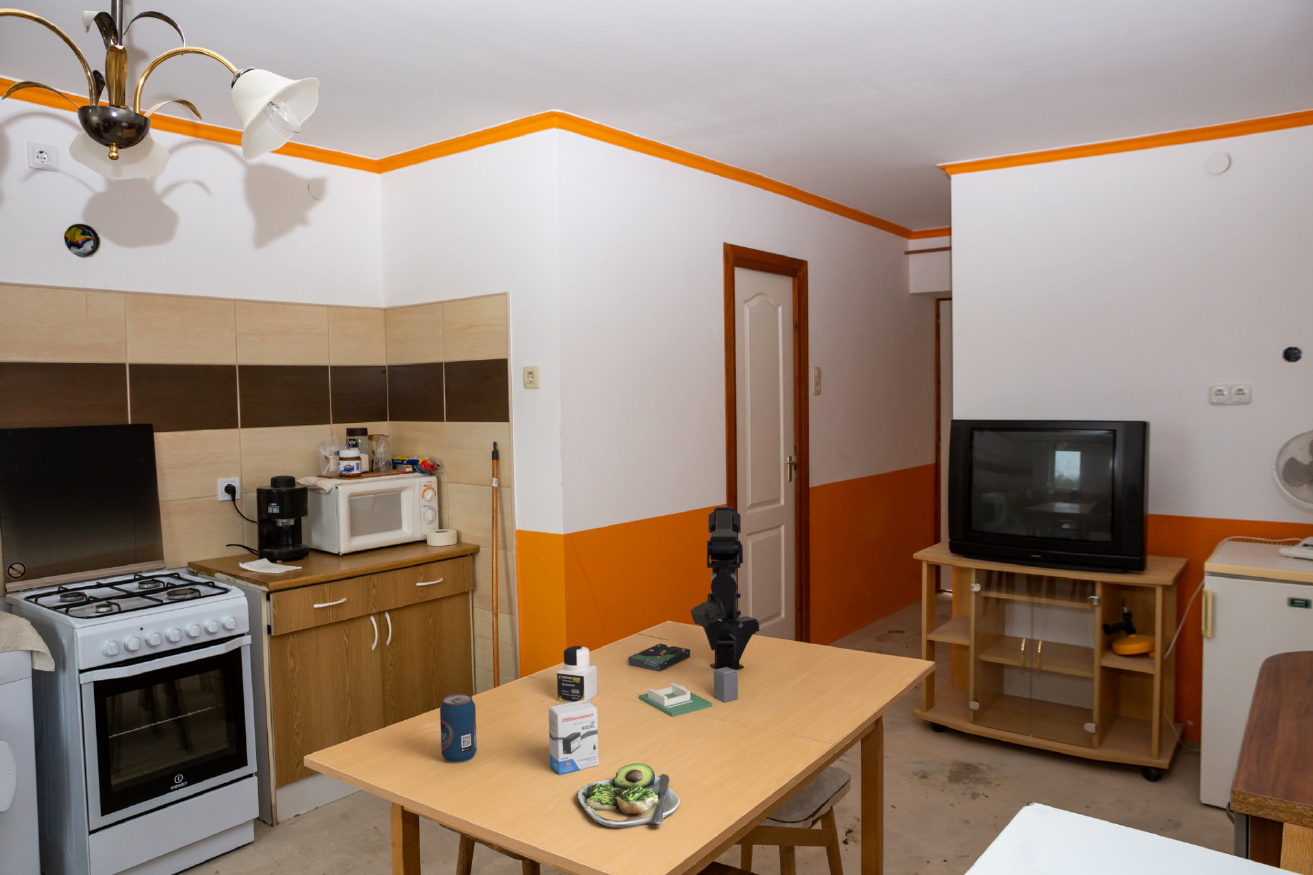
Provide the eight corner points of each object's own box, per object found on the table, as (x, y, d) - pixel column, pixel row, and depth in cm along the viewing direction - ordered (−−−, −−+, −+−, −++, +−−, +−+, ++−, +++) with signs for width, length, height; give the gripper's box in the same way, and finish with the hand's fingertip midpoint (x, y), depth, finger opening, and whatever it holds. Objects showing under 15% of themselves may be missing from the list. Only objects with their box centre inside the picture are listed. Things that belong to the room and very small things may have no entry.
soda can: (436, 756, 176) (433, 697, 176) (467, 747, 180) (465, 689, 180) (450, 767, 171) (448, 707, 170) (483, 758, 175) (481, 699, 174)
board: (639, 698, 207) (638, 686, 206) (677, 688, 213) (677, 677, 212) (672, 716, 195) (671, 704, 195) (712, 706, 201) (711, 694, 201)
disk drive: (659, 653, 244) (627, 666, 232) (659, 643, 244) (627, 656, 231) (690, 658, 238) (660, 673, 226) (690, 648, 238) (660, 662, 226)
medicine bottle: (557, 701, 206) (555, 650, 205) (571, 691, 213) (570, 642, 212) (584, 704, 203) (583, 653, 203) (597, 694, 210) (596, 645, 209)
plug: (713, 698, 206) (713, 669, 206) (729, 694, 208) (728, 665, 208) (724, 703, 203) (723, 673, 202) (739, 698, 205) (739, 669, 205)
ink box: (558, 775, 166) (556, 714, 166) (549, 765, 171) (547, 706, 170) (599, 765, 170) (598, 706, 170) (589, 756, 175) (588, 698, 174)
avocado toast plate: (703, 823, 148) (703, 797, 147) (602, 845, 141) (601, 817, 141) (661, 777, 166) (660, 753, 165) (569, 794, 159) (569, 770, 159)
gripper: (673, 586, 207) (674, 651, 208) (720, 602, 192) (722, 672, 193) (711, 580, 213) (712, 643, 214) (760, 594, 198) (761, 662, 199)
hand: (725, 654), depth 205 cm, fingers open, 9 cm apart
